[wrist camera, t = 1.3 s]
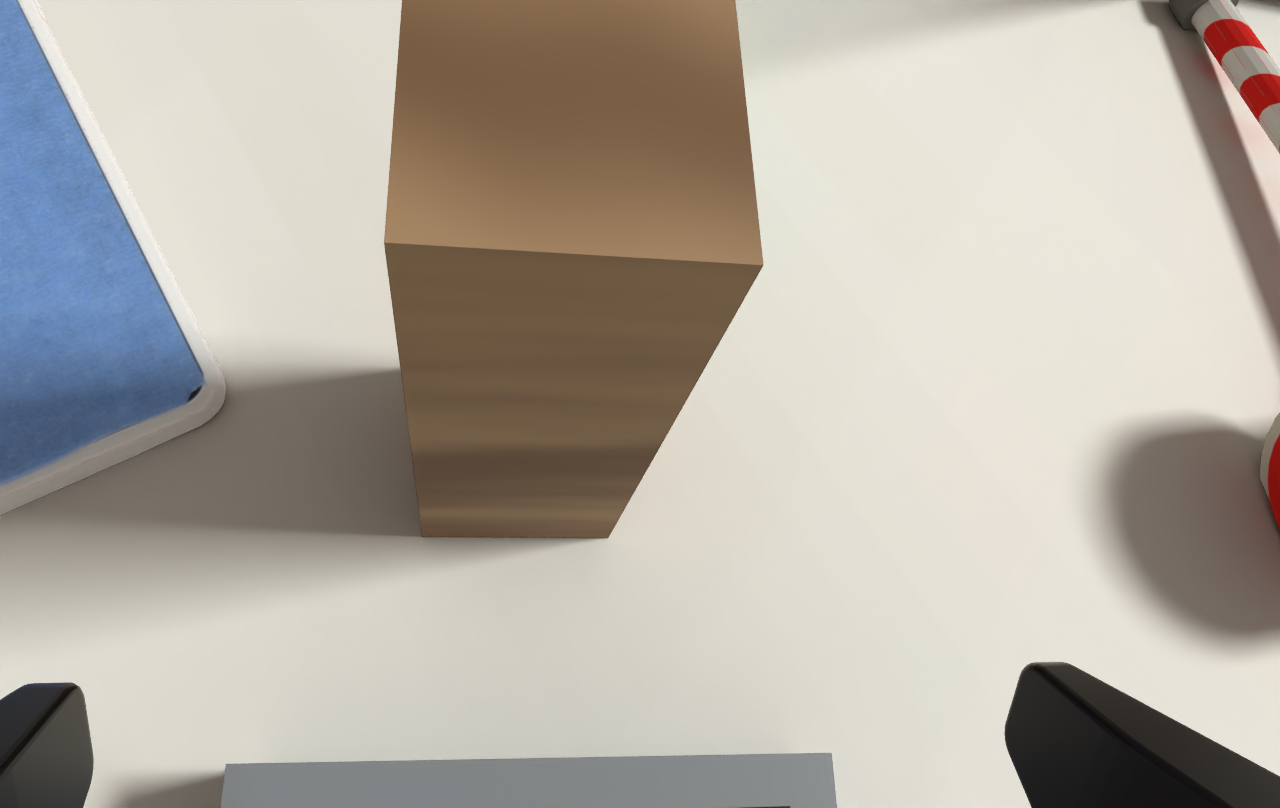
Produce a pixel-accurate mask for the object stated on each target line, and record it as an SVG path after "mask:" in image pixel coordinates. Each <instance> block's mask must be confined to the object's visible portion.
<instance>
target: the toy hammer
mask: <svg viewBox="0 0 1280 808" xmlns="http://www.w3.org/2000/svg"><path fill="white" fill-rule="evenodd" d="M1237 4H1238V0H1169V8H1170V9H1171V11H1172V12H1173V14H1174V15H1175V17H1176V18H1177V20H1178V21H1179V23H1180V24H1181V26H1182V27H1183V29H1184V30H1197V31H1198V33H1199V34H1200V36H1201V37H1202V39H1203V40H1204V42H1205V43H1206V45H1207V46H1208V48H1209V49H1210V51H1211V52H1212V54H1213V55H1214V57H1215V58H1216V60H1217V61H1218V63H1219V64H1220V66H1221V67H1222V69H1223V70H1224V71H1225V73H1226V74H1227V76H1228V77H1229V79H1230V80H1231V82H1232V83H1233V85H1234V86H1235V88H1236V89H1237V91H1238V92H1239V94H1240V95H1241V97H1242V98H1243V100H1244V101H1245V103H1246V104H1247V106H1248V107H1249V109H1250V110H1251V112H1252V113H1253V115H1254V116H1255V118H1256V119H1257V121H1258V122H1259V124H1260V125H1261V127H1262V128H1263V129H1264V131H1265V132H1266V134H1267V135H1268V137H1269V138H1270V140H1271V141H1272V143H1273V144H1274V146H1275V147H1276V149H1277V150H1278V152H1279V153H1280V69H1279V68H1278V66H1277V65H1276V64H1275V62H1274V61H1273V59H1272V58H1271V57H1270V55H1269V54H1268V52H1267V51H1266V49H1265V48H1264V47H1263V45H1262V44H1261V42H1260V41H1259V40H1258V38H1257V37H1256V35H1255V34H1254V33H1253V31H1252V30H1251V28H1250V27H1249V26H1248V24H1247V23H1246V21H1245V20H1244V19H1243V17H1242V16H1241V14H1240V13H1239V12H1238V10H1237V9H1236V5H1237ZM1260 479H1261V481H1262V484H1263V486H1264V488H1265V491H1266V493H1267V495H1268V498H1269V500H1270V503H1271V507H1272V510H1273V514H1274V517H1275V519H1276V522H1277V524H1278V526H1279V528H1280V413H1279V414H1278V416H1277V417H1276V418H1275V420H1274V422H1273V424H1272V426H1271V428H1270V430H1269V432H1268V434H1267V437H1266V440H1265V444H1264V447H1263V451H1262V455H1261V466H1260Z"/></svg>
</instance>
